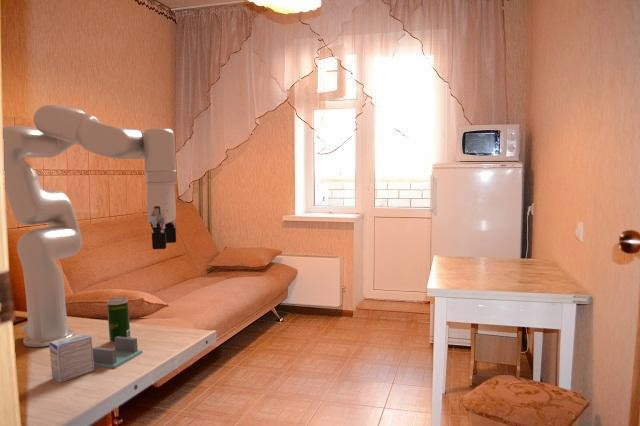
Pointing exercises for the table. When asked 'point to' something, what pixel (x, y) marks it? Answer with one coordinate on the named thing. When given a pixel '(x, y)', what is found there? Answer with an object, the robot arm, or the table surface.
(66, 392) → the table surface
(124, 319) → the beer can
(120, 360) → the end holder
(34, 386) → the table surface
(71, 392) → the table surface
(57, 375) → the medicine box
